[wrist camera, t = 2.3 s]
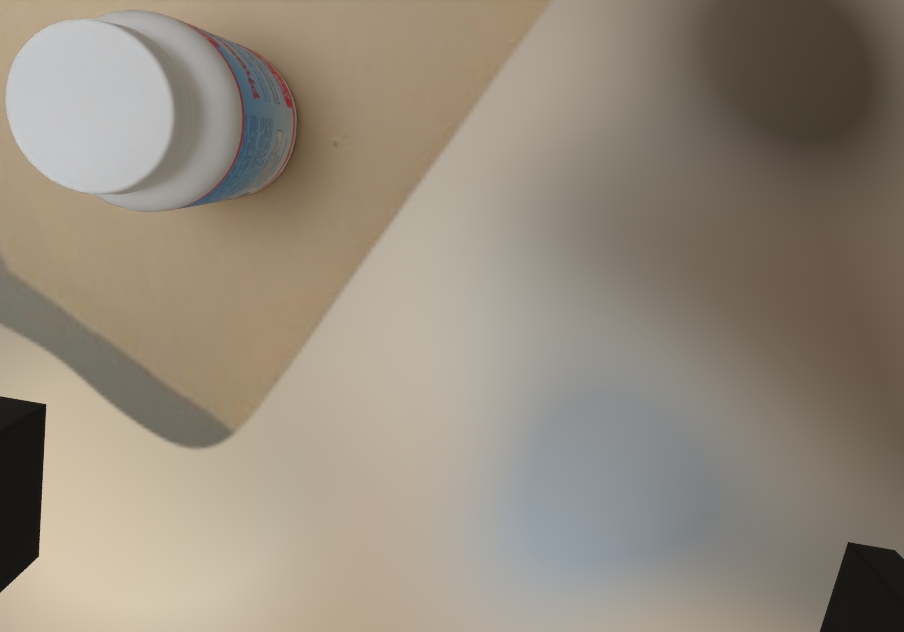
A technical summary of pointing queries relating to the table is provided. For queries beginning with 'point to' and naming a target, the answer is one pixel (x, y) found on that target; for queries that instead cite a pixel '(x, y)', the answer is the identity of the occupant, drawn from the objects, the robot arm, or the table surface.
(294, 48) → the table surface
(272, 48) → the table surface
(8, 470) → the robot arm
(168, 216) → the table surface
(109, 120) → the pill bottle
